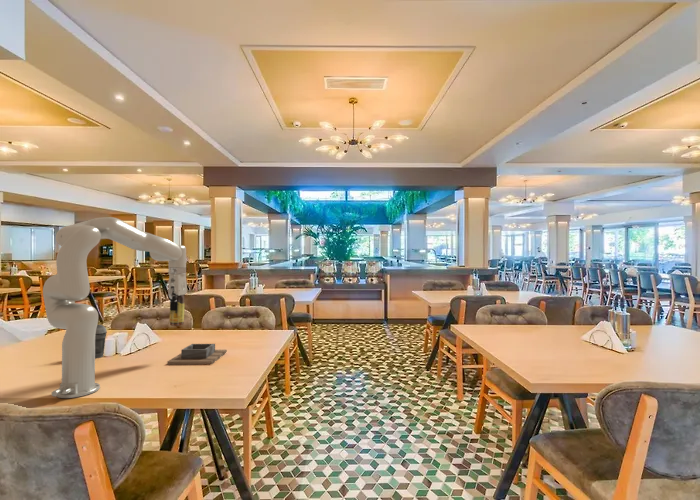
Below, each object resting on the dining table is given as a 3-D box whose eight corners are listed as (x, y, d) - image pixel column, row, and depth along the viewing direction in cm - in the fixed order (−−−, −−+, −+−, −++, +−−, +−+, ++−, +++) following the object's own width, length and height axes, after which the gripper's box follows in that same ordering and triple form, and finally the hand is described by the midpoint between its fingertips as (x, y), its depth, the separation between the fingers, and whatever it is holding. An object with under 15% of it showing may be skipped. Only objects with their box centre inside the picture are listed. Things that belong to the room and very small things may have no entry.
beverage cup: (97, 359, 169) (97, 317, 170) (84, 358, 171) (84, 316, 171) (110, 355, 177) (110, 314, 177) (98, 354, 178) (98, 314, 178)
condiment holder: (212, 364, 161) (212, 352, 162) (167, 364, 161) (167, 352, 161) (226, 352, 181) (226, 341, 182) (186, 352, 181) (187, 341, 181)
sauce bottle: (166, 325, 168) (166, 283, 169) (178, 323, 174) (178, 282, 174) (175, 326, 166) (176, 283, 166) (187, 324, 171) (187, 282, 172)
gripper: (177, 272, 162) (177, 312, 161) (192, 270, 179) (192, 306, 179) (160, 272, 161) (160, 312, 161) (177, 270, 179) (177, 306, 178)
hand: (177, 308), depth 170 cm, fingers closed on sauce bottle, 6 cm apart
